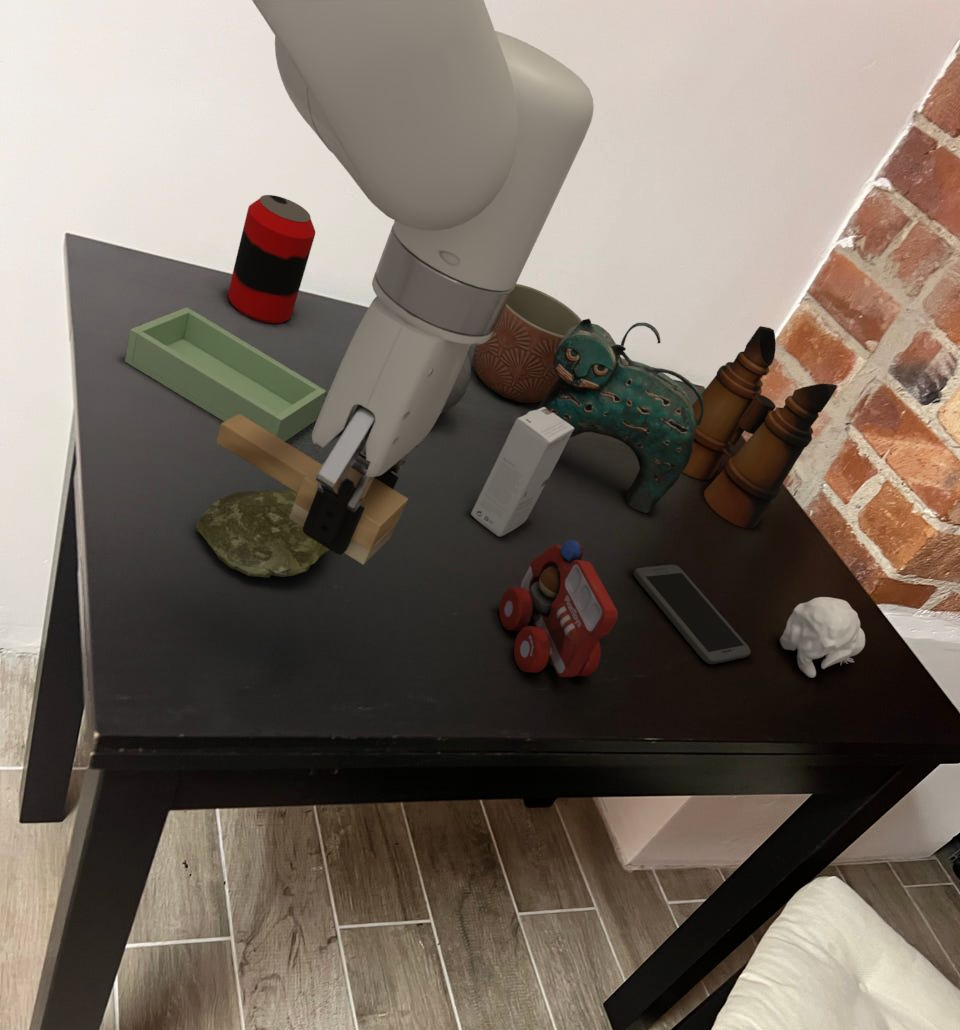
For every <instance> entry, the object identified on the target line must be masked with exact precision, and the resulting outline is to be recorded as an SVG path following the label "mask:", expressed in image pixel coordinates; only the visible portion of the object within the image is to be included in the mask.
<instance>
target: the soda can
mask: <svg viewBox="0 0 960 1030" xmlns="http://www.w3.org/2000/svg"><path fill="white" fill-rule="evenodd" d="M243 224H244V225H243V227H242V233H241V237H240V240H239V245H238V249H237V254H236V257H235V262H234V266H233V271H232V273H231V274H232V275H231V279H230V282H229V287H228V292H227V297H228V299H229V301H230V303H231V305H232V306H233V308H235V309H236V310H237V311H238V312H240V313H241V314H242V315H244V316H247V317H249V318H251V319H253V320H256V321H258V322H262V323H266V324H282V323H284V322H286V321H288V320H289V319H291V317H292V316H293V313H294V309H295V305H296V301H297V299H298V296H299V292H300V288H301V285H302V281H303V279H304V274H305V271H306V268H307V264H308V260H309V257H310V254H311V250H312V247H313V243H314V241H315V236H316V228H315V226H314V223H313V220H312V218H311V214H310V213H309V212H308V211H307V210H306V209H305V208H304V207H302V206H301V205H300V204H299V203H296V202H294V201H292V200H290V199H288V198H285V197H282V196H278V195H274V194H264V195H261V196H260V197H259V198H257V200H254V202H252V203H250V204H249V206H248V207H247V211H246V216H245V220H244V223H243Z"/></svg>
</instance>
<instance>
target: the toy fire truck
mask: <svg viewBox="0 0 960 1030" xmlns="http://www.w3.org/2000/svg"><path fill="white" fill-rule="evenodd" d="M584 554H585V547H584V545H583V543H581V541H579V540H577V539H568V540H566V541H565V542H563V544H562V545H560V544H553V545H551V546H549V548H547V549H546V550H544V551H543V552H542V553H540V554H539V555H538V556H535V558H533V559H532V560H531V562H530V564H529V566H528V568H527V569H526V570H525V571H526V572H525V573H524V575H523V576H522V579H521V580H520V583H519V586H511V587H508V588H507V589H506V590H505V591H504V593H503V594H502V596H501V598H500V602H499V610H498V611H499V620H500V622H501V625H502V626H503V627H504V629H506V630H508V631H514V632H518V634H517V635H516V637H515V641H514V647H513V655H514V660H515V663H516V666H517V667H518V668H519V669H520V670H521V672H524V673H532V674H533V673H539V672H541V671H543V670H544V669H545V668H546V666H547V664H549V665H551V666H552V667H553V669H554V671H555V673H556V675H557V676H558V677H560V678H574V677H589V676H591V675H593V674H594V673H595V672H596V671H597V669H598V667H599V664H600V661H601V655H602V652H601V651H602V649H601V644H600V640H601V638H602V637H605V636H607V635H609V634H610V632H611V631H612V629H613V628H614V626H615V625H616V623H617V620H618V616H619V613H618V609H617V607H616V606H615V604H614V602H613V600H612V599H611V596H610V595H609V593H608V591H607V589H606V587H605V585H604V583H603V582H602V580H601V578H600V576H599V575H598V573H597V571H596V569H595V567H594V565H593V564H592V563H591V562H590V561H587V560H582V559H583V558H584ZM529 624H532V625H529Z"/></svg>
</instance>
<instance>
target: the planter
mask: <svg viewBox="0 0 960 1030" xmlns="http://www.w3.org/2000/svg"><path fill="white" fill-rule="evenodd" d="M582 320H583V319H581V317H580V316H578V314H577V313H576V312H574V310H572V309H571V308H570V307H568V306H567V305H566V304H565V303H563V302H561V301H560V300H558V299H557V298H555V297H554V296H552V295H549V294H548V293H545V292H544V291H541V290H539V289H536V288H534V287H531V286H527V285H524V284H519V283H516V285H515V287H514V289H513V291H512V294H511V296H510V298H509V300H508V302H507V304H506V306H505V308H504V311H503V313H502V315H501V317H500V319H499V321H498V323H497V325H496V327H495V329H494V331H493V334H492V336H491V338H490V340H488V341H487V342H486V343H483V344H479V345H477V344H475V347H474V351H473V357H472V364H473V368H474V371H475V374H476V375H477V376H478V378H479V379H480V380H481V382H482V383H483V384H484V385H485V386H487V387H488V388H489V389H490V390H491V391H493V392H495V393H496V394H498V395H499V396H501V397H503V398H506V399H509V400H511V401H515V402H517V403H523V404H534V403H538V402H542V401H543V400H544V398H545V397H546V396H547V394H548V393H549V391H550V390H551V388H552V387H553V385H554V384H555V383H556V381H557V380H558V379H559V377H558V375H557V374H556V372H555V370H554V354H555V351H556V349H557V347H558V345H559V343H560V342H561V340H562V338H563V337H564V335H565V334H566V333H567V331H568V330H569V329H570V328H571V327H573V326H574V325H576V324H579V323H580V322H582Z"/></svg>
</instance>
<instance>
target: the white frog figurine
mask: <svg viewBox="0 0 960 1030" xmlns="http://www.w3.org/2000/svg"><path fill="white" fill-rule="evenodd" d="M779 644H780V645H781V647H782V649H784V650H787V651H792V652H795V651H796V650H797V654H796V661H797V665H798V668H799V670H800V671H801V672H802V673H803V674H804V675H805V676H806V677H808V678H811V679H812V678H813V679H814V678H815V677H816V676H817V670H816V666H815V665H814V663H813V660H819V659H821V658H823V657H825V658H824V659H823V660H822V661H821V664H820V667H821V669H823V670H825V669H826V668H829V667H831V666H833V665H835V664H839V663H840V665H842V664H843V663H846V664H849V663H855V661H854V659H853V658H852V657H855V656H857V655H858V654H860V653H861V652H862V651H863V649H864V648H865V645H866V635H865V632H864V630H863V629H862V628H861V620H860V618H859V614H858V612H857V611H856V610H855V609H854V608H852V606H851V604H850V603H849V602H848V601H846V600H845V599H841V598H836V597H835V598H834V597H829V596H818V597H815V598H812V599H811V600H808V601H806V602H801V603H799V604H797V605H796V606H795V608H794V609H793V611H792V612H791V615H789V617H788V619H787V622H786V626H785V629H784V630H783V634H782V635H781V636H780V637H779ZM848 662H849V663H848Z"/></svg>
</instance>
